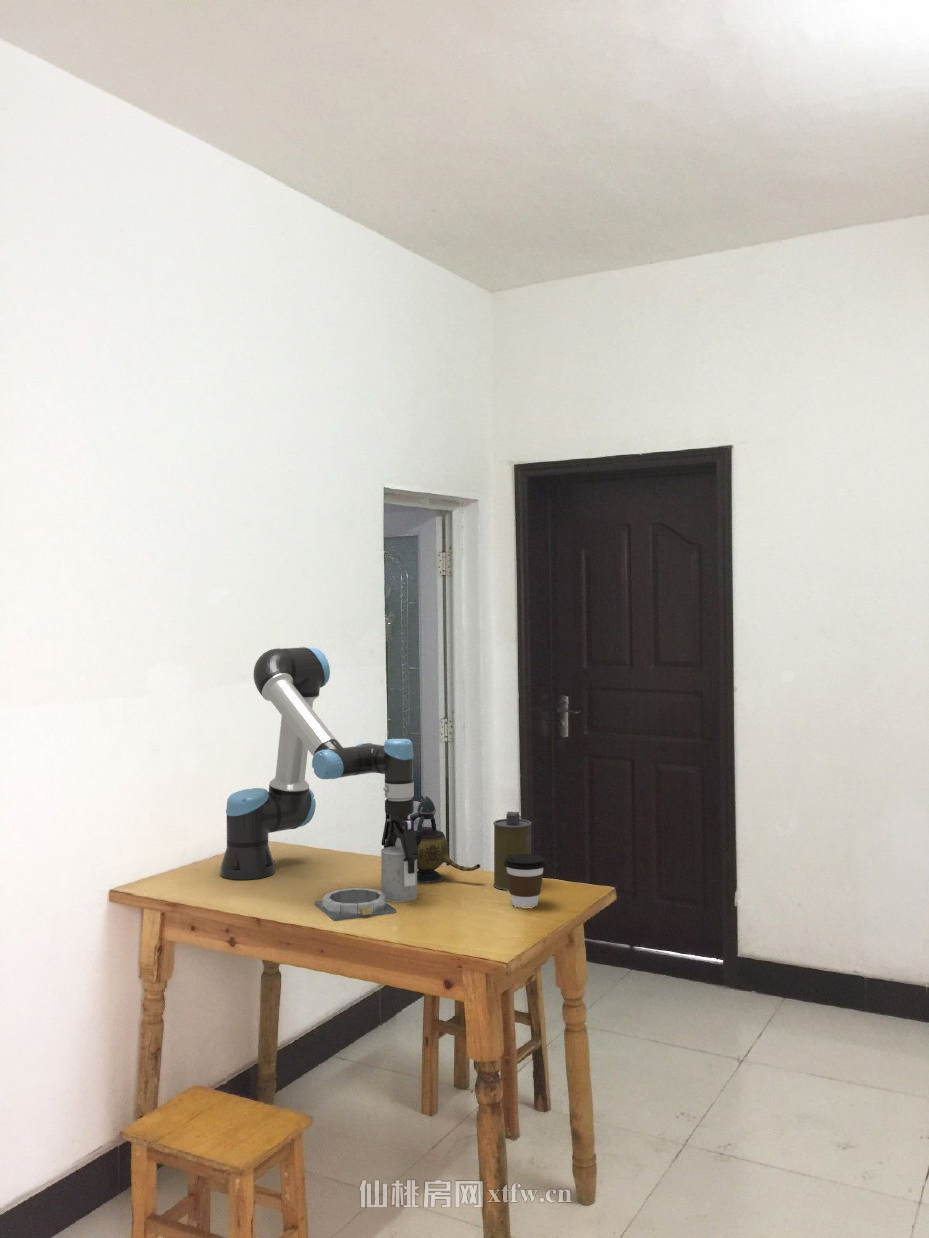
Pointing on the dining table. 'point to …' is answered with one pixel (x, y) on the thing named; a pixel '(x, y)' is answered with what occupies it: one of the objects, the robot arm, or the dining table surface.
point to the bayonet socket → (354, 903)
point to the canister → (509, 844)
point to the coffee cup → (524, 878)
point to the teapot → (431, 845)
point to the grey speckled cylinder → (396, 875)
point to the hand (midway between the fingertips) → (400, 879)
